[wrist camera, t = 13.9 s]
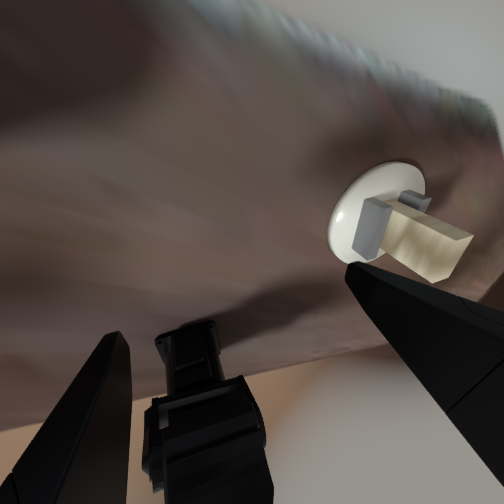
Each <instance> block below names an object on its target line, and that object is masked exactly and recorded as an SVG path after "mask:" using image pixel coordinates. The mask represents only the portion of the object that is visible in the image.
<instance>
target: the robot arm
mask: <svg viewBox="0 0 504 504" xmlns="http://www.w3.org/2000/svg"><path fill="white" fill-rule="evenodd" d="M345 282H346V284H347V285H348V287H349V288H350V290H351V291H352V293H353V294H354V296H355V298H356V299H357V301H358V302H359V304H360V305H361V307H362V308H363V310H364V311H365V313H366V314H367V315H368V317H369V318H370V319H371V320H372V322H373V323H374V324H375V325H376V327H377V328H378V329H379V330H380V332H381V333H382V334H383V336H384V337H385V338H386V339H387V341H388V342H389V343H390V344H391V345H392V347H393V348H394V349H395V351H396V352H397V353H398V354H399V356H400V357H401V358H402V359H403V361H404V362H405V363H406V364H407V366H408V367H409V368H410V370H411V371H412V372H413V373H414V375H415V376H416V377H417V378H418V380H419V381H420V382H421V383H422V385H423V386H424V387H425V388H426V390H427V391H428V392H429V393H430V395H431V396H432V397H433V399H434V400H435V401H436V402H437V404H438V405H439V406H440V407H441V409H442V410H443V411H444V412H445V414H446V415H447V416H448V418H449V419H450V420H451V422H452V423H453V424H454V425H455V427H456V428H457V429H458V430H459V432H460V433H461V434H462V435H463V437H464V438H465V439H466V440H467V442H468V443H469V444H470V446H471V447H472V448H473V449H474V451H475V452H476V453H477V454H478V456H479V457H480V458H481V459H482V461H483V462H484V463H485V464H486V466H487V467H488V468H489V469H490V471H491V472H492V473H493V475H494V476H495V477H496V478H497V480H498V481H499V482H500V483H501V484H502V486H503V487H504V311H501V310H498V309H495V308H491V307H488V306H485V305H482V304H479V303H477V302H474V301H471V300H468V299H465V298H462V297H459V296H458V297H457V296H456V295H454V294H451V293H448V292H445V291H442V290H440V289H437V288H434V287H431V286H428V285H425V284H423V283H420V282H417V281H414V280H411V279H408V278H406V277H403V276H400V275H397V274H394V273H392V272H389V271H386V270H383V269H380V268H377V267H375V266H372V265H369V264H366V263H363V262H360V261H355V262H351V263H349V264H348V266H347V270H346V274H345ZM155 345H156V347H157V349H158V352H159V354H160V356H161V358H162V360H163V362H164V364H165V367H166V383H167V396H164V397H160V398H158V397H156V398H152V406H150V408H148V409H147V410H146V411H145V413H144V440H143V441H144V442H143V453H142V470H143V471H144V472H145V473H146V474H147V475H149V478H150V482H152V484H153V494H154V493H157V492H160V491H162V490H164V498H165V504H273V497H274V485H273V482H272V478H271V475H270V471H269V468H268V464H267V460H266V455H265V451H264V448H265V446H266V433H265V426H264V422H263V418H262V415H261V412H260V409H259V407H258V405H257V403H256V401H255V399H254V397H253V395H252V393H251V391H250V389H249V387H248V385H247V383H246V381H245V379H244V377H243V375H239V376H237V377H236V378H232V379H228V380H225V377H224V373H223V370H222V366H221V362H220V358H219V355H220V353H221V352H220V347H219V342H218V337H217V332H216V327H215V323H214V321H207V322H204V323H201V324H198V325H195V326H191V327H188V328H185V329H182V330H178V331H175V332H172V333H169V334H166V335H162V336H159V337H157V338H155ZM131 413H132V380H131V362H130V349H129V345H128V343H127V342H126V340H125V338H124V337H123V335H122V333H121V332H120V331H115V332H111V333H108V334H106V335H104V336H103V338H102V339H101V341H100V342H99V344H98V345H97V346H96V348H95V349H94V351H93V352H92V354H91V355H90V357H89V358H88V360H87V361H86V362H85V364H84V365H83V367H82V368H81V370H80V371H79V373H78V374H77V376H76V377H75V378H74V380H73V381H72V383H71V384H70V386H69V387H68V389H67V390H66V392H65V393H64V394H63V396H62V397H61V399H60V400H59V402H58V403H57V405H56V406H55V408H54V409H53V410H52V412H51V413H50V415H49V416H48V418H47V419H46V421H45V422H44V424H43V425H42V427H41V428H40V430H39V431H38V432H37V434H36V435H35V437H34V438H33V440H32V441H31V443H30V444H29V445H28V447H27V448H26V450H25V451H24V453H23V454H22V456H21V457H20V459H19V460H18V461H17V463H16V464H15V466H14V467H13V469H12V473H10V474H9V475H8V476H7V477H6V479H5V480H4V482H3V483H2V485H1V486H0V504H126V496H127V495H126V494H127V479H128V462H129V447H130V430H131ZM166 426H167V427H166ZM163 427H164V428H163ZM160 428H162V429H160Z"/></svg>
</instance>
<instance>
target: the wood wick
mask: <svg viewBox="0 0 504 504" xmlns="http://www.w3.org/2000/svg"><path fill="white" fill-rule="evenodd" d="M383 202H385V203H387V204H389V205H392V206H394V208H393V210H392V213H391V216H390V219H389V222H388V225H387V228H386V231H385V234H384V237H383V240H382V242H381V245H380V248H381V249H382V250H384V251H385V252H387V253H388V254H390V255H391V256H393V257H394V258H395V259H397V260H398V261H400V262H401V263H403V264H404V265H406V266H407V267H409V268H410V269H412V270H413V271H415V272H416V273H418V274H419V275H421V276H422V277H423V278H425V279H426V280H428V281H429V282H431V283H435V282H437V281H440V280H443V279H446V278H448V277H449V276H450V274H451V272H452V271H453V269H454V267H455V266H456V264H457V262H458V261H459V259H460V257H461V256H462V254H463V252H464V251H465V249H466V247H467V246H468V244H469V243H470V241H471V239H472V238H473V236H474V235H472V234H470V233H468V232H465V231H463V230H461V229H459V228H456V227H454V226H452V225H450V224H447V223H445V222H443V221H441V220H438V219H436V218H434V217H432V216H429V215H427V214H425V213H423V212H420V211H418V210H416V209H414V208H411V207H409V206H407V205H405V204H402V203H400V202H398V201H396V200H393V199H391V200H386V201H383Z"/></svg>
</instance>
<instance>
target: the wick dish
mask: <svg viewBox="0 0 504 504" xmlns="http://www.w3.org/2000/svg"><path fill="white" fill-rule="evenodd" d="M424 194H425V181H424V178H423V175H422V173H421V172H420V171H419V170H418V169H417V168H416V167H414V166H412V165H409V164H406V163H402V162H397V161H392V162H386V163H382V164H379V165H377V166H375V167H373V168H371V169H369V170H368V171H366V172H365V173H363V174H362V175H361V176H360V177H358V178H357V179H356V180H355V181H354V182H353V183H352V184H351V185H350V186H349V187H348V188H347V190H346V191H345V192H344V193H343V195H342V196H341V198H340V199H339V201H338V202H337V204H336V206H335V208H334V210H333V212H332V215H331V217H330V220H329V225H328V231H327V239H328V244H329V247H330V249H331V251H332V252H333V253H334V254H335V255H336V256H337V257H338V258H339V259H340V260H342V261H343V262H345V263H348V264H349V263H351V262H355V261H360V262H363V263H366V262H369V261H372V260H374V259H376V258H378V257H380V256H381V255H383V254H384V253H386V252H385V251H384V250H382V249H381V248H380V245H381V242H382V240H383V237H384V234H385V231H386V228H387V225H388V222H389V219H390V216H391V213H392V210H393V208H394V206H392V205H389V204H387V203H385V202H383V201H386V200H391V199H393V200H396V201H398V202H400V203H402V204H405V205H407V206H409V207H411V208H414V209H416V210H418V211H420V212H423V213H425V212H426V210H427V208H428V205H429V203H430V201H431V199H432V198H431V197H428V196H425V195H424Z"/></svg>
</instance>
